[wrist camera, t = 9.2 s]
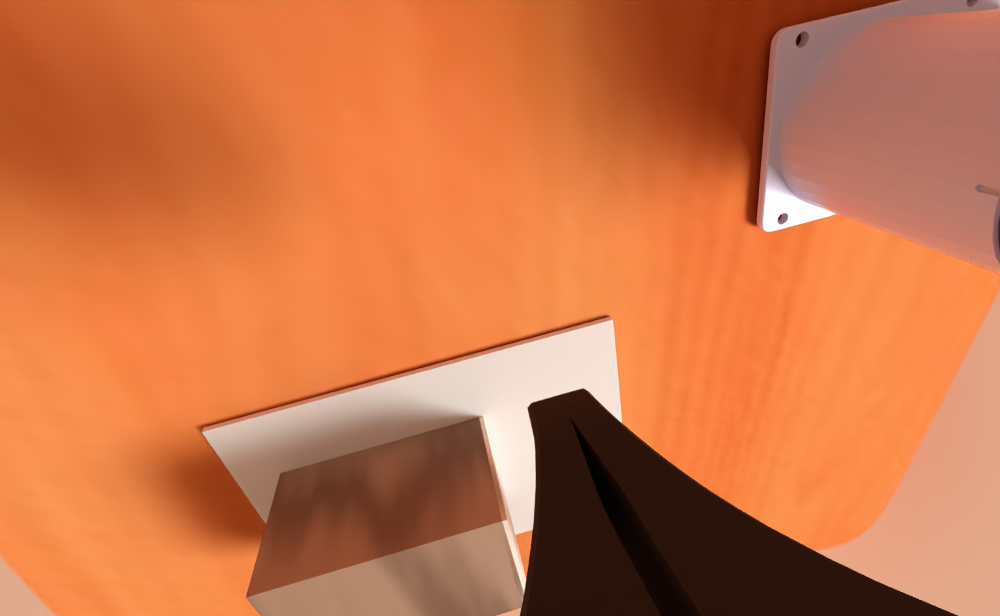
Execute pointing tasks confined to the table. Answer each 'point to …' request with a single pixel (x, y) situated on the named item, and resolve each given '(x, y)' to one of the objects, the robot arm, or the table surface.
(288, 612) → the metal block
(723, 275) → the table surface
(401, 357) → the table surface
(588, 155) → the table surface
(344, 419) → the mat
